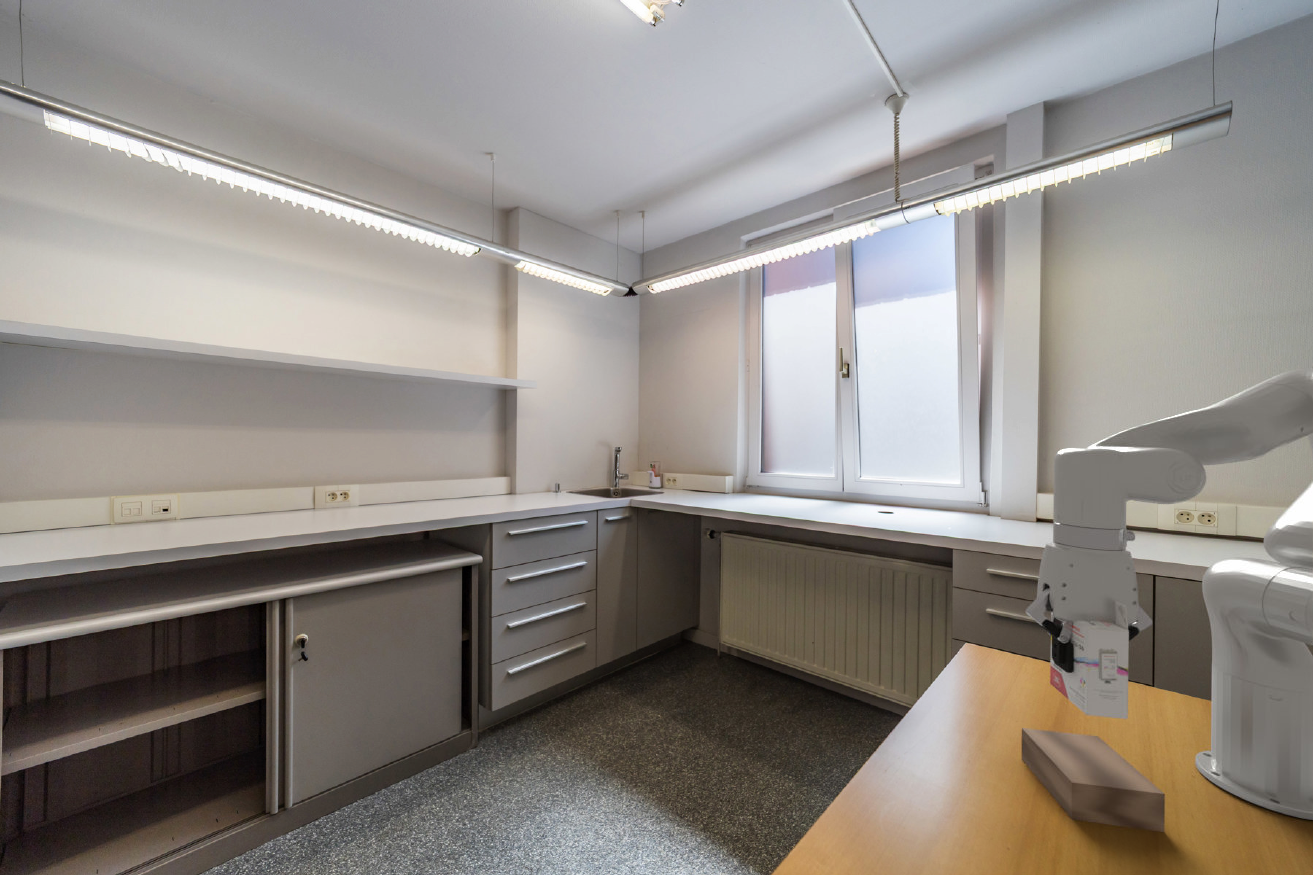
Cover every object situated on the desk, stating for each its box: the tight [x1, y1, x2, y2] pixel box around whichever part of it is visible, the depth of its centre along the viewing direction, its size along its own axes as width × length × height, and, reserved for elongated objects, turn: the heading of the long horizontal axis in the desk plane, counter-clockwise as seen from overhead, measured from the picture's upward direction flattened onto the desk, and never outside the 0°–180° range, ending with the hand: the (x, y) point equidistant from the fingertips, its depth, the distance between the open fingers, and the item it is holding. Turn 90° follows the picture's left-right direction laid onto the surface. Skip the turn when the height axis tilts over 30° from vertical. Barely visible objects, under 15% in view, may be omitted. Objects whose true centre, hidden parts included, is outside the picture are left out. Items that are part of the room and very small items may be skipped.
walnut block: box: [1021, 727, 1166, 833], centre depth 68 cm, size 10×12×5 cm
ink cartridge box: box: [1049, 601, 1130, 720], centre depth 68 cm, size 9×5×15 cm, turn 169°
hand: (1086, 668), depth 68 cm, fingers closed on ink cartridge box, 5 cm apart
